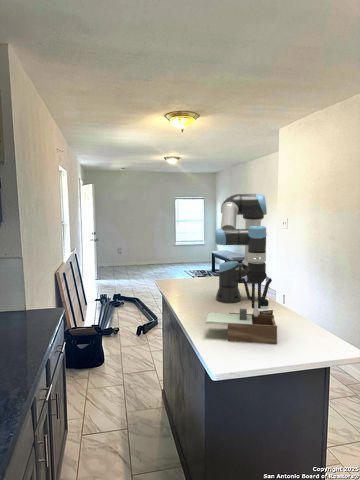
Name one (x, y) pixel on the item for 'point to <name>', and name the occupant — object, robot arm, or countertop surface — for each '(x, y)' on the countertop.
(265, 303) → the medicine bottle
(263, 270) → the robot arm
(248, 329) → the box
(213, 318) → the lid
